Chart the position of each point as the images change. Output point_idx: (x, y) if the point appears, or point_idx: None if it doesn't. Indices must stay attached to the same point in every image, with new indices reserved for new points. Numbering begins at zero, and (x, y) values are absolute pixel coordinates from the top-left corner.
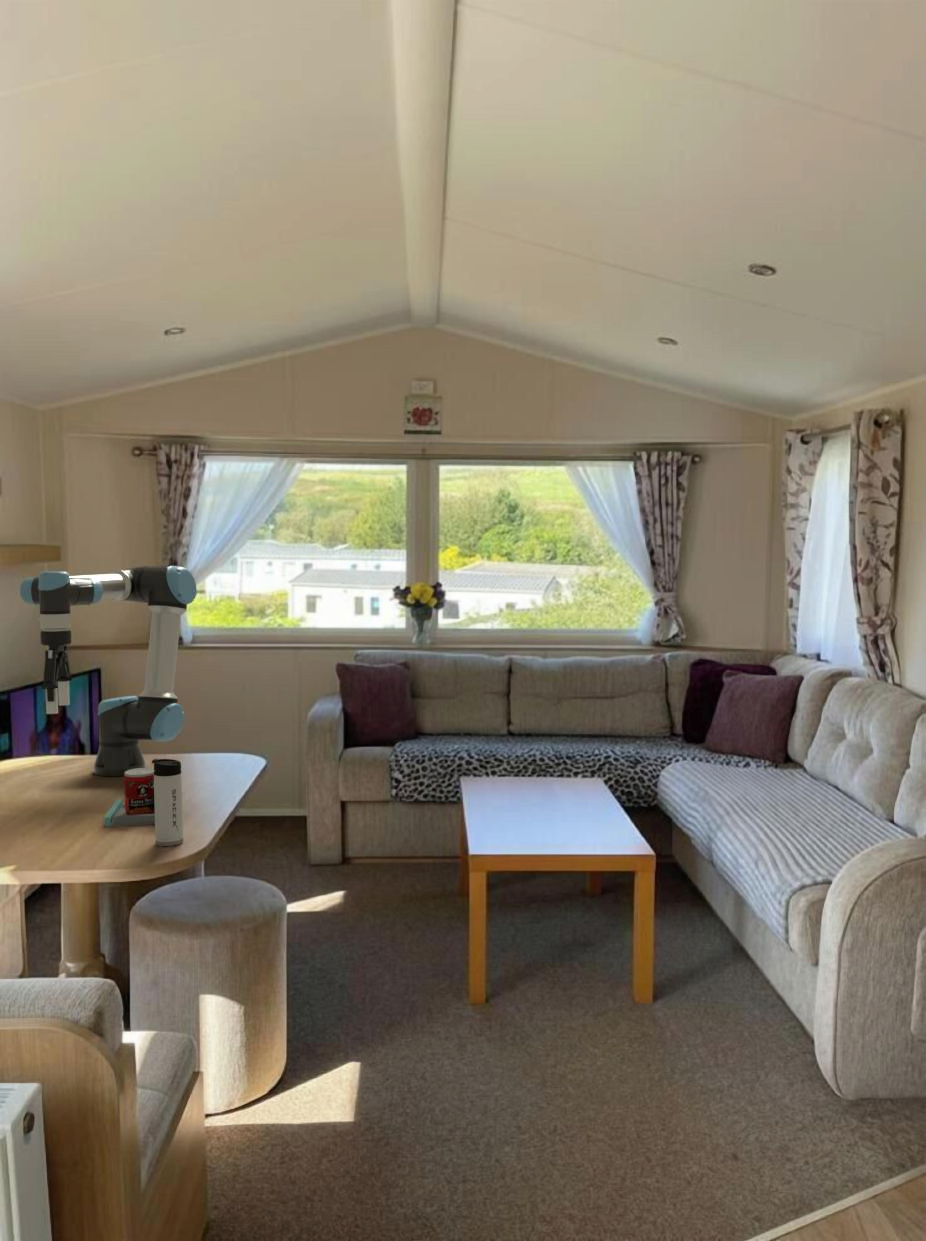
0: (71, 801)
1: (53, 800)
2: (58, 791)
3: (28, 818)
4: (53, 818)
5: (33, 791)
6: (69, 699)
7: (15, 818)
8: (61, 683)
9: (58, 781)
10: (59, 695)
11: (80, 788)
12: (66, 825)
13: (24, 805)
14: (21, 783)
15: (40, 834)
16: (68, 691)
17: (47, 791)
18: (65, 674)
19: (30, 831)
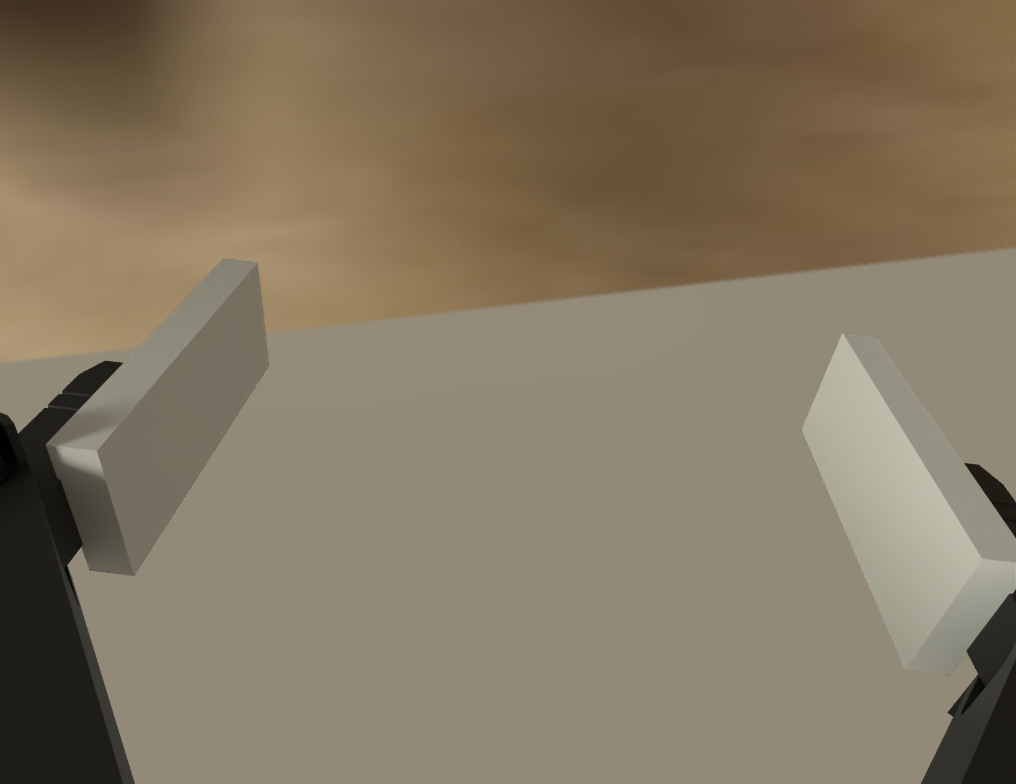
0: (431, 53)
1: (393, 147)
2: (217, 143)
3: (692, 219)
4: (743, 108)
5: (212, 253)
6: (203, 289)
7: (669, 269)
8: (136, 516)
9: (16, 165)
10: (222, 425)
11: (157, 33)
12: (916, 26)
13: (457, 261)
14: (69, 316)
15: (1009, 135)
16: (178, 355)
17: (215, 194)
18: (68, 594)
19: (927, 185)
